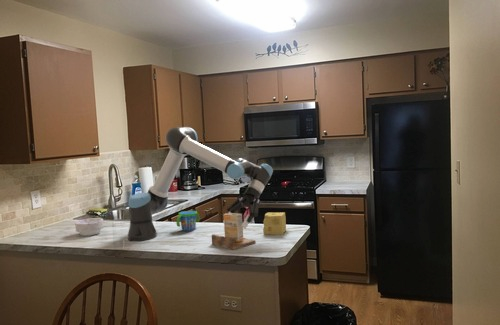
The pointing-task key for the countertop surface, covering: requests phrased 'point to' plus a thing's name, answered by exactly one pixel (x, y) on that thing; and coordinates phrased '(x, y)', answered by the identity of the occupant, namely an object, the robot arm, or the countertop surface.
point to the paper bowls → (89, 226)
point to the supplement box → (233, 226)
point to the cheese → (274, 223)
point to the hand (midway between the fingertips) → (233, 225)
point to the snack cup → (187, 220)
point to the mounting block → (230, 242)
